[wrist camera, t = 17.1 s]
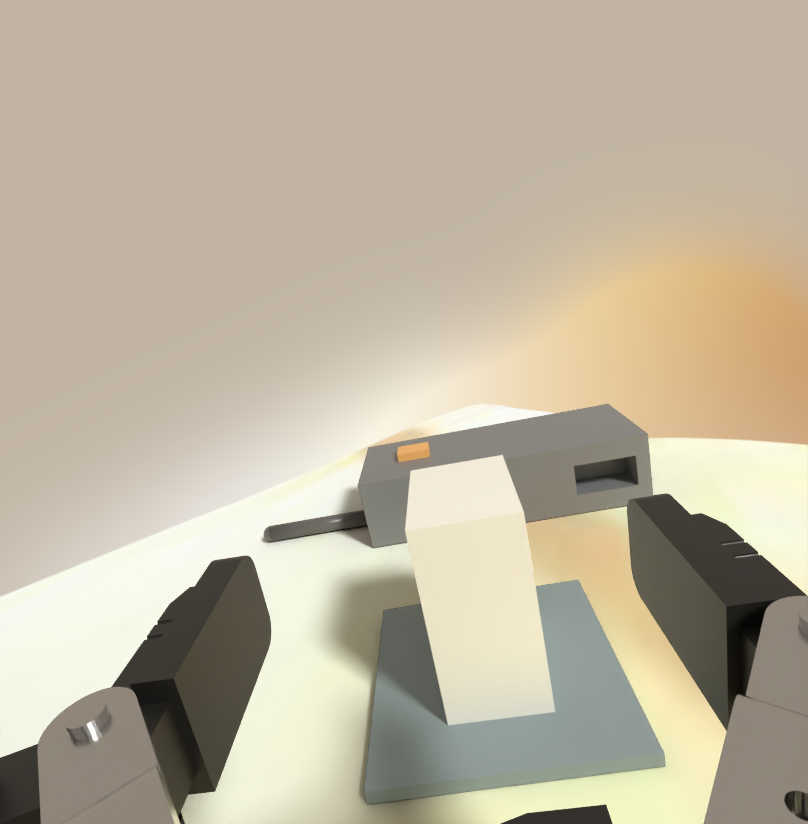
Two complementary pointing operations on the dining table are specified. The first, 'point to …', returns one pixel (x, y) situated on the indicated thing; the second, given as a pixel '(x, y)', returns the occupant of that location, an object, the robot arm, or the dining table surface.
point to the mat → (509, 737)
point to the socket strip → (527, 464)
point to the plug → (478, 591)
